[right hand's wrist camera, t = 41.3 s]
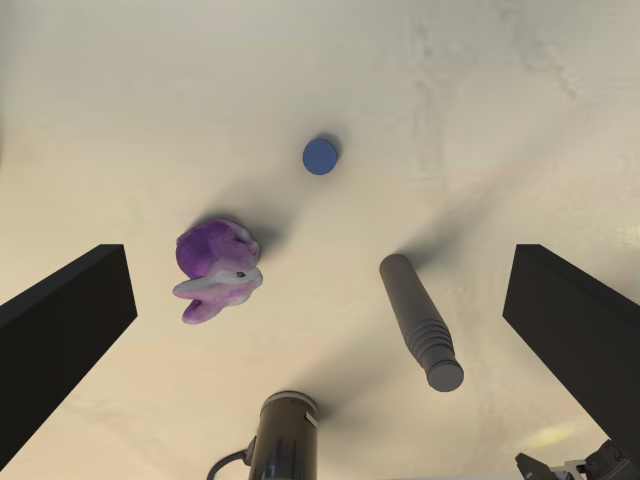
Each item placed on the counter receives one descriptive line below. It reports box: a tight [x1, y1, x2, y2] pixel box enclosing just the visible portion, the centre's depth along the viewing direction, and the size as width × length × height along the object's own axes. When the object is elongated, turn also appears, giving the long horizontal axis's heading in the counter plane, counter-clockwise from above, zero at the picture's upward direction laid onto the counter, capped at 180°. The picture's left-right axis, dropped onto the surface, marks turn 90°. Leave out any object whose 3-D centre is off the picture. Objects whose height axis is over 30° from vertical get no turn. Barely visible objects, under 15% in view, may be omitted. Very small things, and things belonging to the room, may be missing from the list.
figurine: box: [173, 219, 263, 325], centre depth 42 cm, size 9×10×15 cm
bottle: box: [380, 255, 464, 392], centre depth 40 cm, size 4×4×22 cm
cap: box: [303, 139, 337, 175], centre depth 44 cm, size 4×4×2 cm
